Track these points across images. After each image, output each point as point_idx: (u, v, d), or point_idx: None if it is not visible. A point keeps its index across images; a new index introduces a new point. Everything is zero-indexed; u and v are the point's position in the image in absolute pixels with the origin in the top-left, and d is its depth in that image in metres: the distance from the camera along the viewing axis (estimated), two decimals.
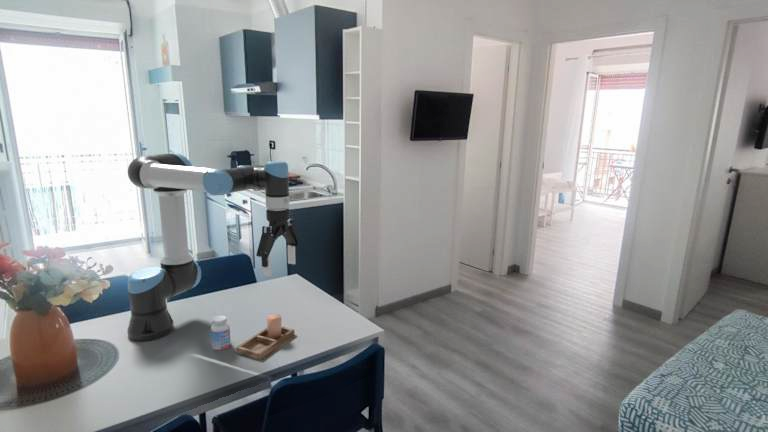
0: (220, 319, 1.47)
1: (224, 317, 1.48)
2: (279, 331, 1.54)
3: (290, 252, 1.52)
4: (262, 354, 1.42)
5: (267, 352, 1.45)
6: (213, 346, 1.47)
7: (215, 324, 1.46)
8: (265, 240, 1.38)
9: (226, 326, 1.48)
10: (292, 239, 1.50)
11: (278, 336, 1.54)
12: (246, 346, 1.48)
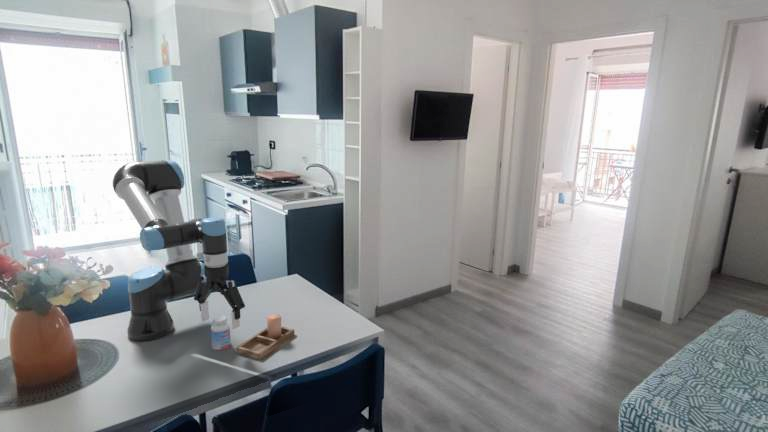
0: (220, 319, 1.47)
1: (224, 317, 1.48)
2: (279, 331, 1.54)
3: None
4: (262, 354, 1.42)
5: (267, 352, 1.45)
6: (213, 346, 1.47)
7: (215, 324, 1.46)
8: None
9: (226, 326, 1.48)
10: (229, 302, 1.43)
11: (278, 336, 1.54)
12: (246, 346, 1.48)
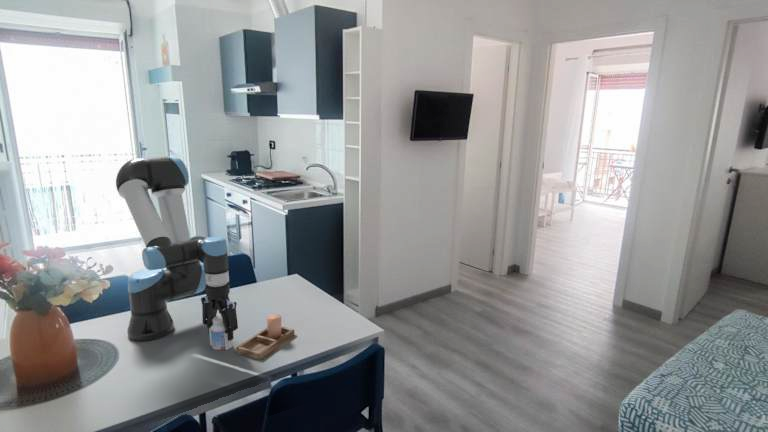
0: (220, 319, 1.47)
1: None
2: (279, 331, 1.54)
3: None
4: (262, 354, 1.42)
5: (267, 352, 1.45)
6: (213, 346, 1.47)
7: (215, 324, 1.46)
8: None
9: None
10: (225, 323, 1.45)
11: (278, 336, 1.54)
12: (246, 346, 1.48)
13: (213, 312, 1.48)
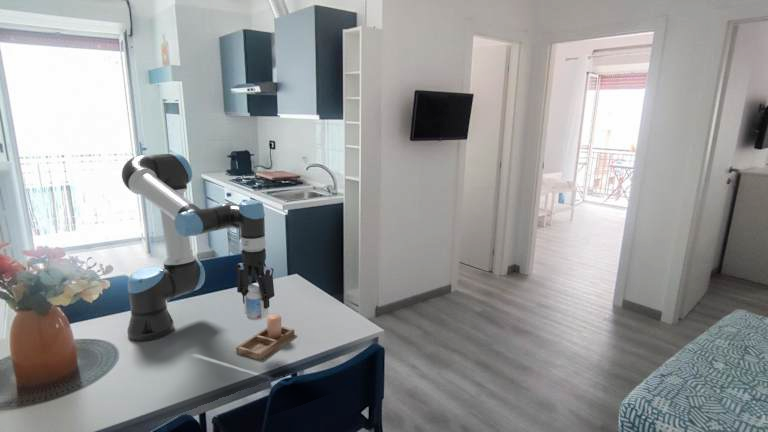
0: (256, 286, 1.42)
1: None
2: (279, 331, 1.54)
3: None
4: (262, 354, 1.42)
5: (267, 352, 1.45)
6: (248, 314, 1.43)
7: (251, 291, 1.41)
8: None
9: None
10: (261, 290, 1.41)
11: (278, 336, 1.54)
12: (246, 346, 1.48)
13: (248, 279, 1.43)
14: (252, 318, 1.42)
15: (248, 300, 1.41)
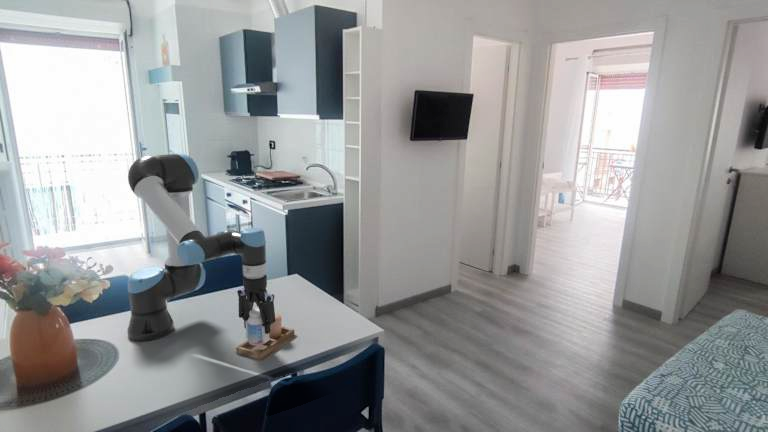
0: (257, 312, 1.44)
1: None
2: (279, 331, 1.54)
3: None
4: (262, 354, 1.42)
5: (267, 352, 1.45)
6: (250, 339, 1.45)
7: (252, 317, 1.43)
8: None
9: None
10: (262, 316, 1.43)
11: (278, 336, 1.54)
12: (246, 346, 1.48)
13: (250, 305, 1.45)
14: (253, 343, 1.44)
15: (249, 326, 1.43)
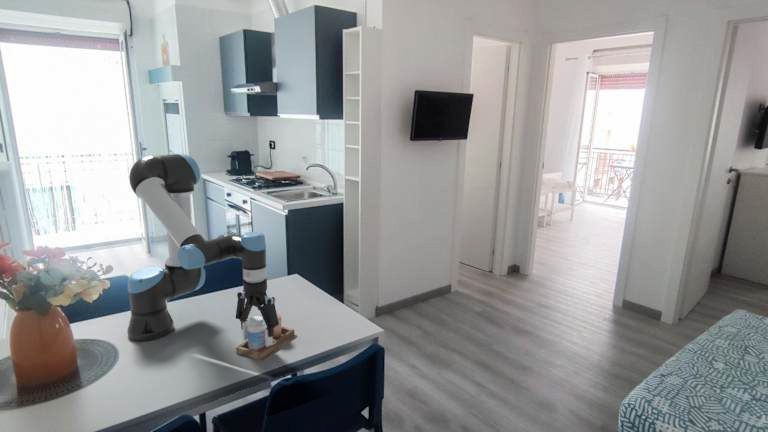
0: (257, 320, 1.45)
1: (260, 318, 1.46)
2: (279, 331, 1.54)
3: None
4: (262, 354, 1.42)
5: (267, 352, 1.45)
6: (250, 347, 1.45)
7: (252, 325, 1.44)
8: None
9: (263, 327, 1.45)
10: (265, 319, 1.43)
11: (278, 336, 1.54)
12: (246, 346, 1.48)
13: (248, 308, 1.45)
14: None
15: (249, 333, 1.44)
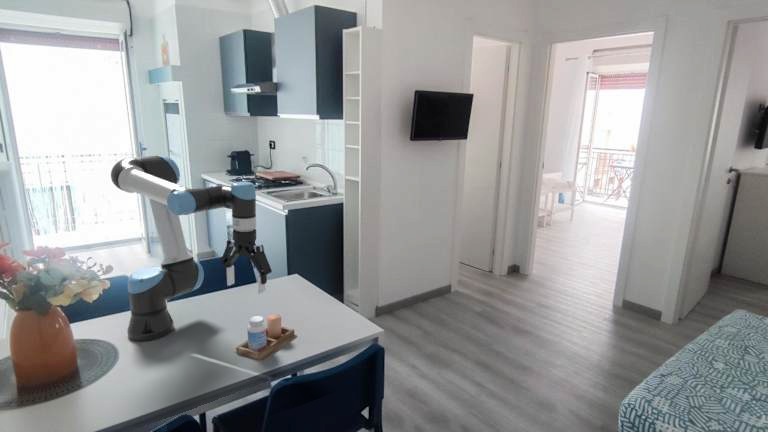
0: (257, 320, 1.45)
1: (261, 318, 1.46)
2: (279, 331, 1.54)
3: None
4: (262, 354, 1.42)
5: (267, 352, 1.45)
6: (250, 347, 1.45)
7: (252, 325, 1.44)
8: None
9: (263, 327, 1.45)
10: (256, 267, 1.43)
11: (278, 336, 1.54)
12: (246, 346, 1.48)
13: (235, 256, 1.47)
14: None
15: (249, 333, 1.44)
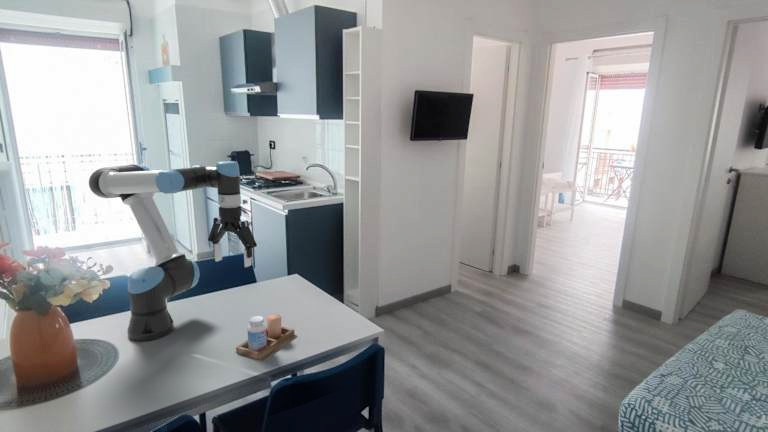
0: (257, 320, 1.45)
1: (261, 318, 1.46)
2: (279, 331, 1.54)
3: None
4: (262, 354, 1.42)
5: (267, 352, 1.45)
6: (250, 347, 1.45)
7: (252, 325, 1.44)
8: None
9: (263, 327, 1.45)
10: (242, 241, 1.51)
11: (278, 336, 1.54)
12: (246, 346, 1.48)
13: (222, 232, 1.55)
14: None
15: (249, 333, 1.44)
